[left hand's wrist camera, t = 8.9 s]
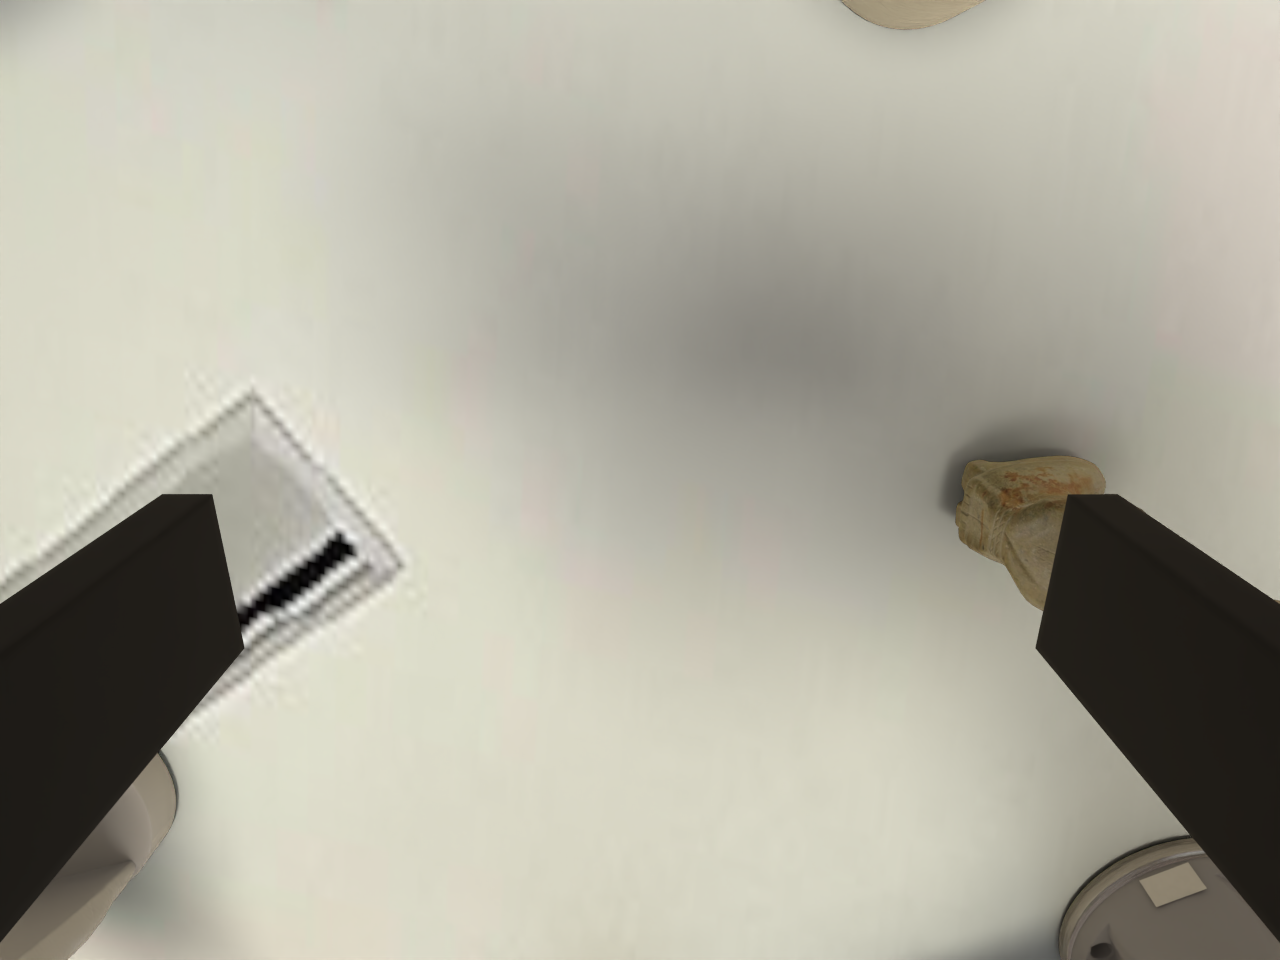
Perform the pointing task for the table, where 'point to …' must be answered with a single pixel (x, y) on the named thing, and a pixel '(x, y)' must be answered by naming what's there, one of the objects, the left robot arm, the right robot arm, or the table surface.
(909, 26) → the jar
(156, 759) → the bust sculpture
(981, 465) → the sculpture
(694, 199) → the table surface
